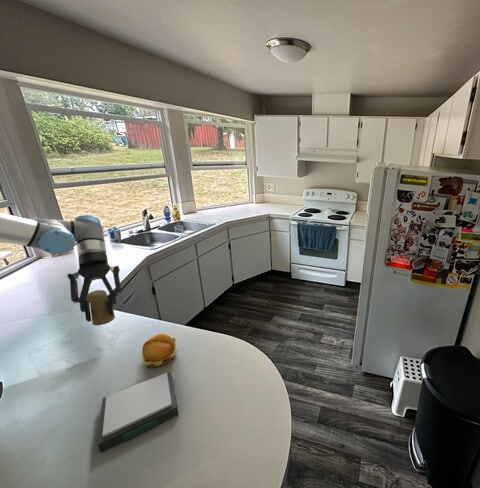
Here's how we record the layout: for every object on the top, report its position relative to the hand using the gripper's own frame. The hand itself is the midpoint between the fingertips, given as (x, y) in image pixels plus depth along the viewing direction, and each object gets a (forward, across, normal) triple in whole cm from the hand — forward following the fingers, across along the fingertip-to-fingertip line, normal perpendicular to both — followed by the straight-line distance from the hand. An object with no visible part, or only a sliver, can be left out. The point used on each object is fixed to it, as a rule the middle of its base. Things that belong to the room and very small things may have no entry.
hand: (100, 317), depth 82 cm
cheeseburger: (+19, -14, 0) cm, 24 cm away
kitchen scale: (+32, -8, +13) cm, 35 cm away
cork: (0, 0, -5) cm, 5 cm away
